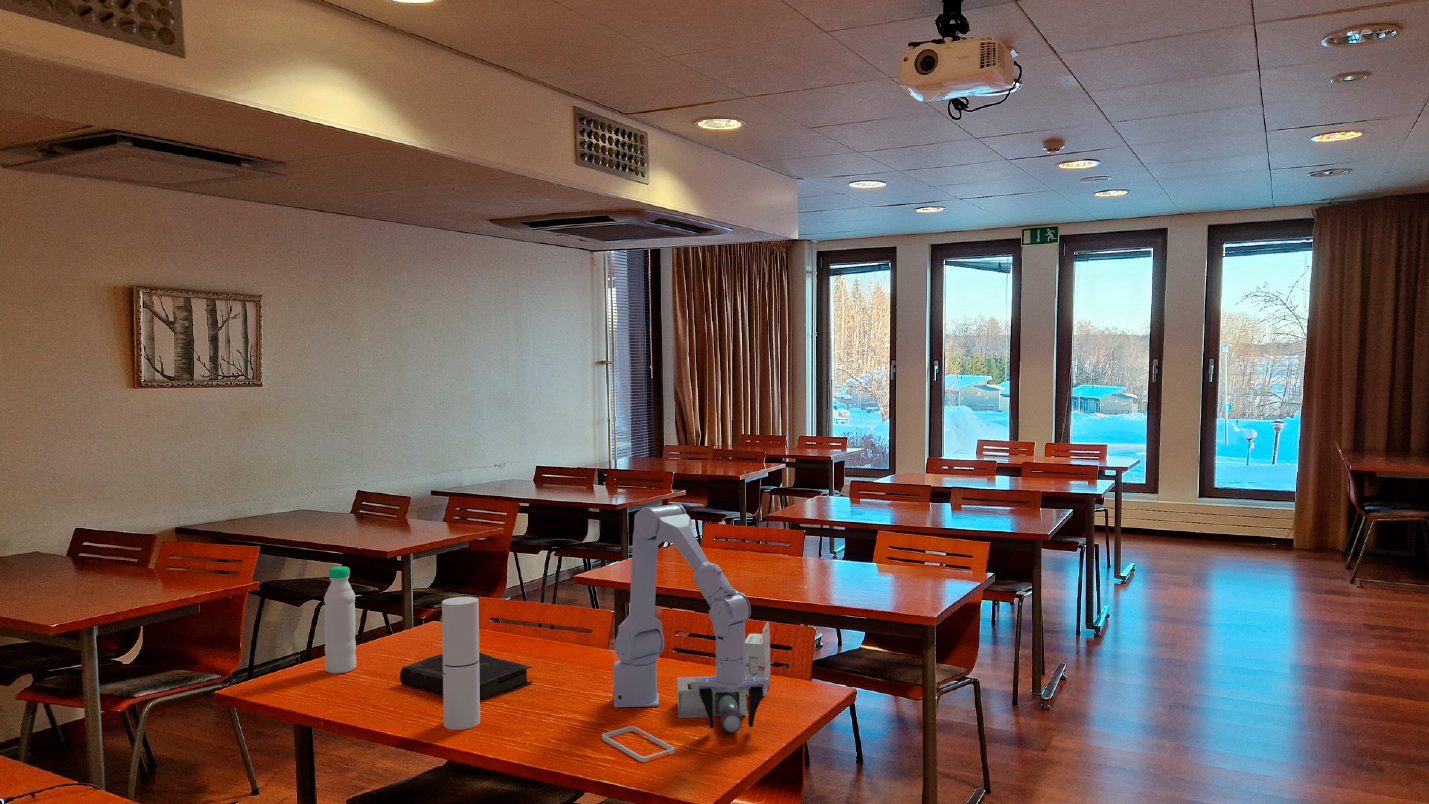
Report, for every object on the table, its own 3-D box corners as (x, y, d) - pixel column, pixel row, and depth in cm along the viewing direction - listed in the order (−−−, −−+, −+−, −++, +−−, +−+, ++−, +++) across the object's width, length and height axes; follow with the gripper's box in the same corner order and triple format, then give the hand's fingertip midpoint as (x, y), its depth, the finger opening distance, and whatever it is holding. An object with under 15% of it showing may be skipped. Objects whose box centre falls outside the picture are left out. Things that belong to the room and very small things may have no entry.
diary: (471, 709, 201) (471, 686, 201) (399, 688, 215) (399, 666, 215) (535, 685, 216) (535, 663, 216) (464, 667, 231) (463, 646, 230)
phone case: (600, 741, 181) (642, 765, 169) (600, 734, 181) (642, 758, 169) (633, 732, 185) (676, 755, 173) (632, 725, 185) (676, 748, 173)
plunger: (690, 694, 193) (690, 686, 193) (689, 690, 196) (689, 681, 196) (705, 694, 193) (704, 685, 193) (704, 689, 196) (704, 681, 196)
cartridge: (722, 733, 181) (722, 714, 180) (717, 711, 193) (717, 693, 193) (742, 733, 181) (741, 713, 181) (736, 711, 193) (736, 693, 193)
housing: (678, 717, 192) (678, 690, 192) (677, 703, 201) (677, 677, 201) (746, 715, 193) (746, 688, 193) (742, 701, 202) (742, 675, 202)
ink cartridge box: (749, 684, 214) (748, 619, 213) (770, 685, 213) (770, 620, 213) (743, 696, 205) (742, 629, 205) (765, 697, 204) (764, 630, 204)
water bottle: (362, 668, 228) (361, 566, 228) (337, 676, 222) (335, 571, 222) (344, 664, 232) (342, 563, 232) (318, 671, 226) (317, 568, 226)
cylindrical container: (460, 732, 185) (459, 606, 185) (436, 725, 189) (434, 602, 188) (487, 721, 191) (485, 599, 191) (462, 715, 195) (461, 595, 195)
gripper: (694, 663, 178) (695, 734, 179) (769, 661, 179) (770, 732, 179) (692, 653, 185) (693, 721, 186) (765, 651, 186) (766, 719, 187)
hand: (731, 726), depth 183 cm, fingers open, 7 cm apart
